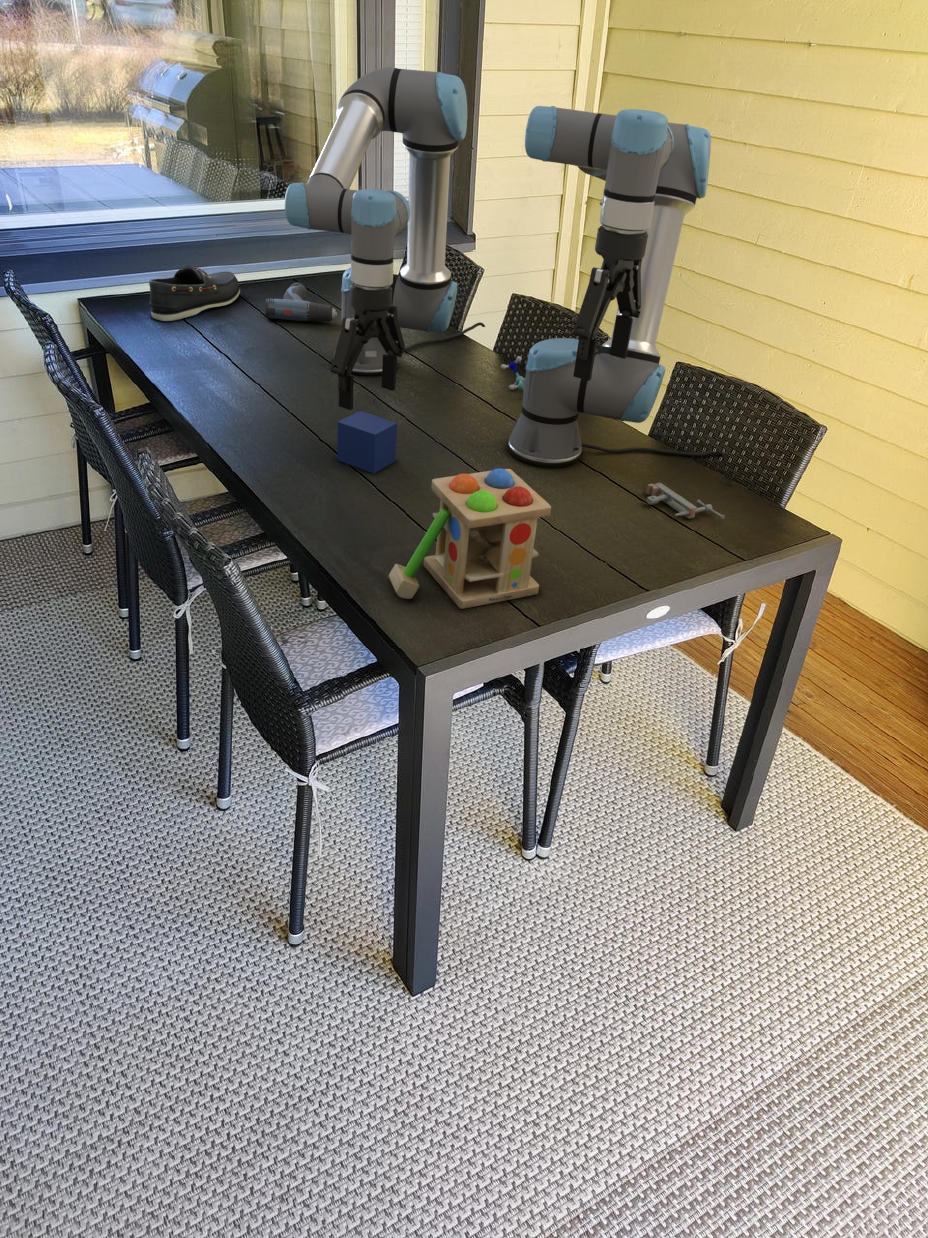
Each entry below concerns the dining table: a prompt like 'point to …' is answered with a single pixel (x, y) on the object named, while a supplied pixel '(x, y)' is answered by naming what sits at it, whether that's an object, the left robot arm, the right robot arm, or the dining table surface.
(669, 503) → the clamp
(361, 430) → the brick
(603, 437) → the dining table surface
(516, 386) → the molecular model
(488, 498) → the pounding bench toy
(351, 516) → the dining table surface
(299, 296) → the power drill
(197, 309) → the boat shoe
